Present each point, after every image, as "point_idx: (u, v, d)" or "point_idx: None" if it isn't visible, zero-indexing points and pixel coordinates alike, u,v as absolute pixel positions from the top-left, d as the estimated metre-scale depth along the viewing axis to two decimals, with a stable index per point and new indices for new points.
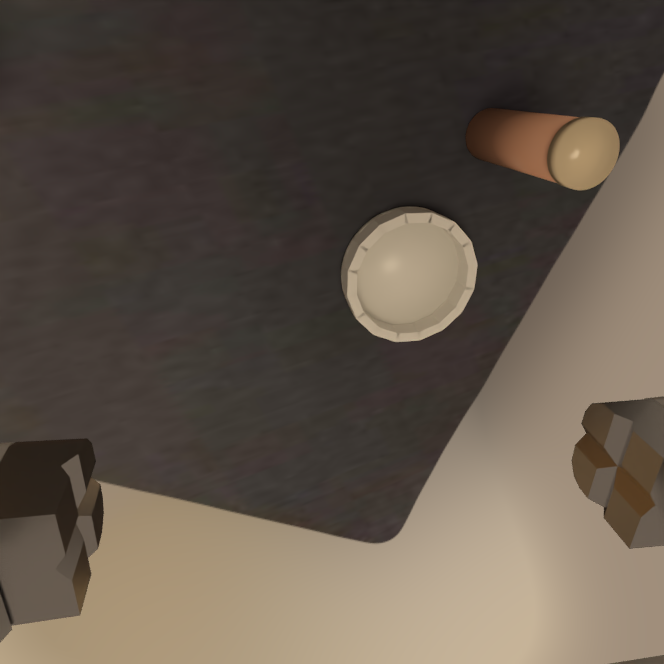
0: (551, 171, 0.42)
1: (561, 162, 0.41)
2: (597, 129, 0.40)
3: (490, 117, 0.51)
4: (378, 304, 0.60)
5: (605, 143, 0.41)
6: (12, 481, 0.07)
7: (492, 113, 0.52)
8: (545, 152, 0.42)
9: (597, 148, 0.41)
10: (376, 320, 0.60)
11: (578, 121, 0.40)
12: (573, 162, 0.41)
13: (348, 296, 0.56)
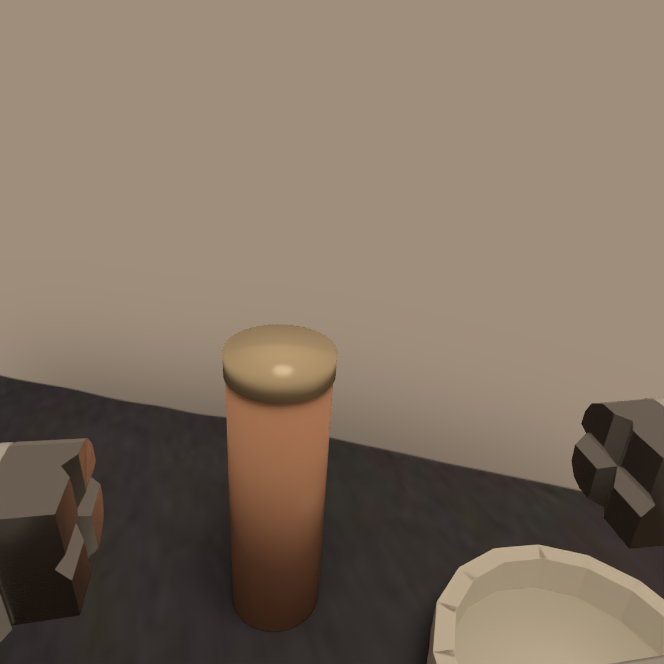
0: (313, 389, 0.24)
1: (296, 372, 0.23)
2: (240, 346, 0.25)
3: (244, 581, 0.29)
4: None
5: (261, 337, 0.26)
6: (12, 481, 0.07)
7: (238, 582, 0.29)
8: (283, 411, 0.23)
9: (269, 342, 0.26)
10: None
11: (228, 367, 0.24)
12: (294, 360, 0.24)
13: None
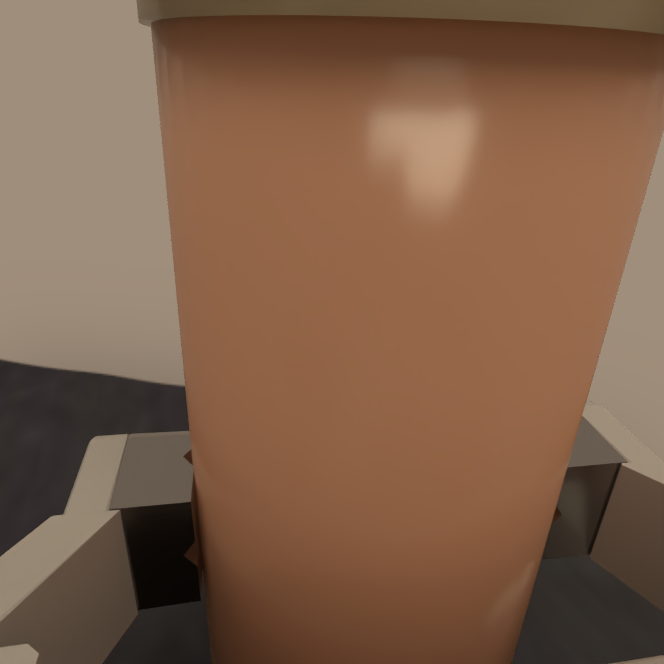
0: None
1: None
2: None
3: None
4: None
5: None
6: (141, 471, 0.07)
7: None
8: (509, 102, 0.04)
9: None
10: None
11: None
12: None
13: None
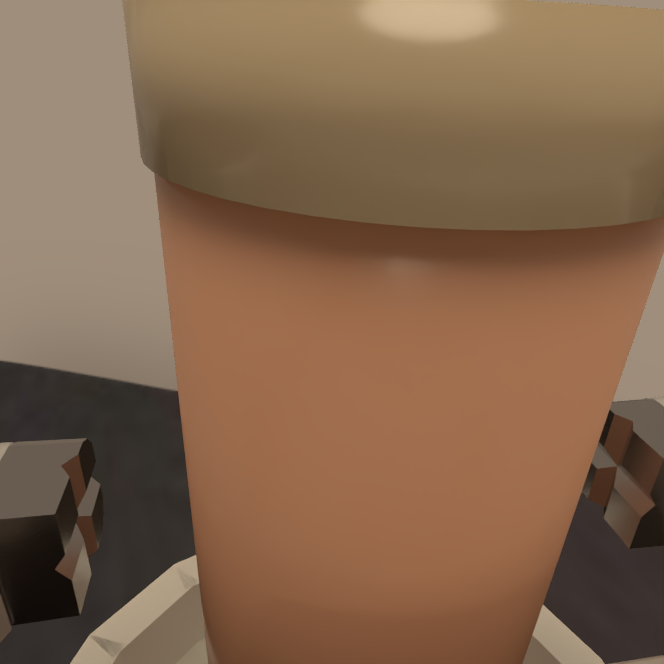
0: None
1: None
2: None
3: None
4: None
5: None
6: (12, 481, 0.07)
7: None
8: (506, 293, 0.04)
9: None
10: None
11: (145, 29, 0.04)
12: None
13: None
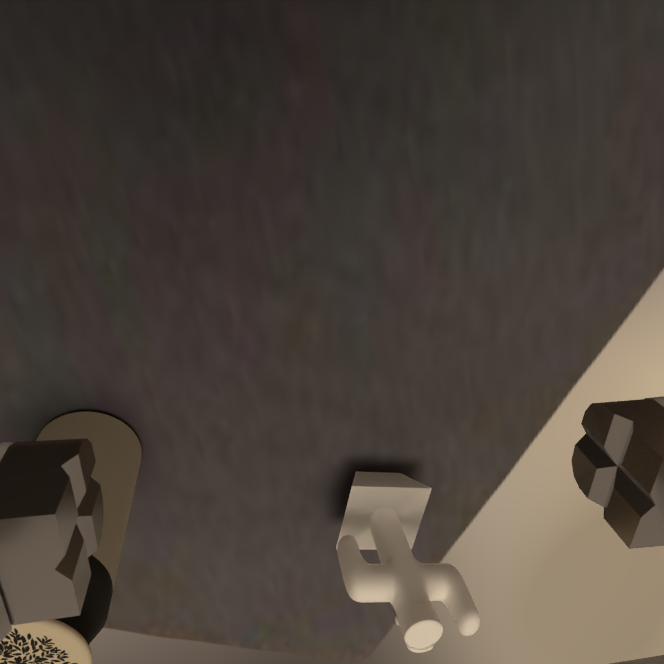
0: None
1: None
2: None
3: None
4: None
5: None
6: (12, 481, 0.07)
7: None
8: None
9: None
10: None
11: None
12: None
13: None
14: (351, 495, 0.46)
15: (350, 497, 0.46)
